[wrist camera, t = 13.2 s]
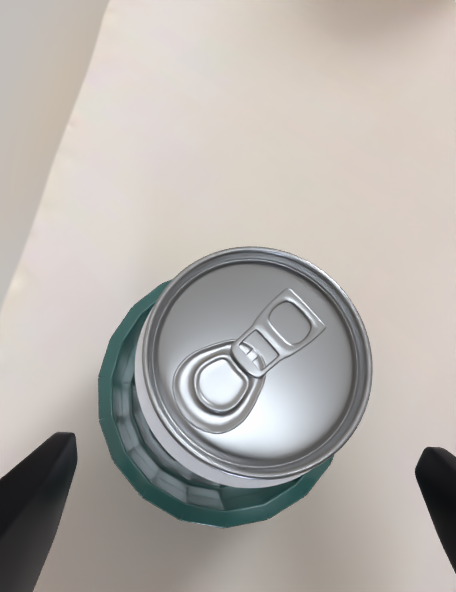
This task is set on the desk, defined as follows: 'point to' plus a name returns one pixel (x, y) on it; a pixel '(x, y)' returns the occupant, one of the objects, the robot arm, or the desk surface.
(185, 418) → the can
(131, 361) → the bowl
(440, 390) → the desk surface
